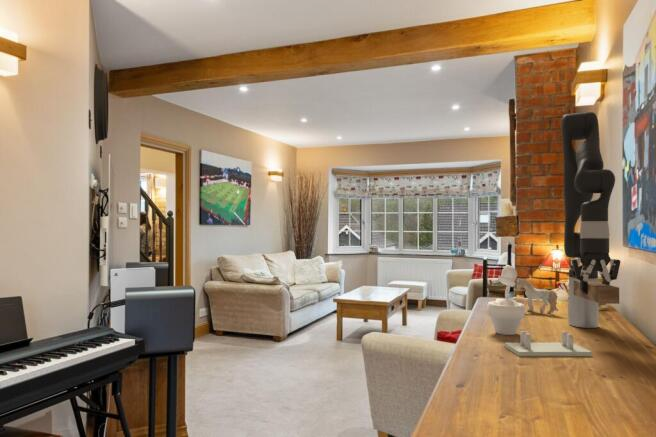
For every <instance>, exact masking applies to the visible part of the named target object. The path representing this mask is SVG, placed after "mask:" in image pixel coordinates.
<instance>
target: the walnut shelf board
mask: <svg viewBox="0 0 656 437" xmlns="http://www.w3.org/2000/svg"><path fill="white" fill-rule="evenodd" d="M587 282H588V294H582V292H581V291H580V281H574V295H575V296H578V297H582V298H585V299H588V300H591V301H594V302H597V303H598V304H603V305H604V304H605V305H606V304H608V305H609V304H615V305H619V304H620V287H618V286H614V285H611V284H610V285H606V284H602V282H599V281H598V282H594V281H587Z"/></svg>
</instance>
